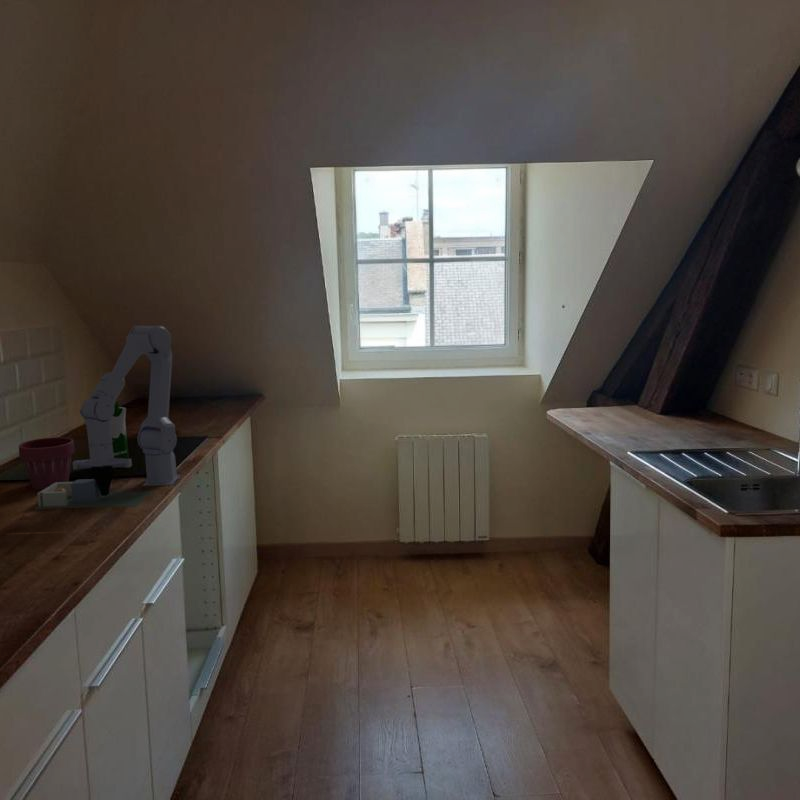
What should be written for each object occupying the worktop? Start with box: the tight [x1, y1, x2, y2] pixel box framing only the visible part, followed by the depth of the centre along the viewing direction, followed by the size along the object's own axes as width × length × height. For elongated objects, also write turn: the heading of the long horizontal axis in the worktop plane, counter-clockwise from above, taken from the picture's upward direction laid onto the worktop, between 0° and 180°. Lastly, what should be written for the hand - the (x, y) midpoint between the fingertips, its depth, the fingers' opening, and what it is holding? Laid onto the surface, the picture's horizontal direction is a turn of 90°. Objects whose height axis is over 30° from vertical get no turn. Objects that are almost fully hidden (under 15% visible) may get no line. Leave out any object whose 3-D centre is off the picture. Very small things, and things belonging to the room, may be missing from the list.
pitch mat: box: [33, 490, 154, 510], centre depth 198 cm, size 13×26×1 cm, turn 90°
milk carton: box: [110, 401, 130, 468], centre depth 235 cm, size 9×9×20 cm
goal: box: [37, 481, 74, 507], centre depth 198 cm, size 10×7×4 cm
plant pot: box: [18, 436, 76, 491], centre depth 213 cm, size 14×14×13 cm
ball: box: [54, 488, 66, 492], centre depth 197 cm, size 4×4×4 cm
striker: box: [71, 478, 102, 502], centre depth 198 cm, size 4×6×5 cm, turn 90°
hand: (105, 494), depth 198 cm, fingers closed
